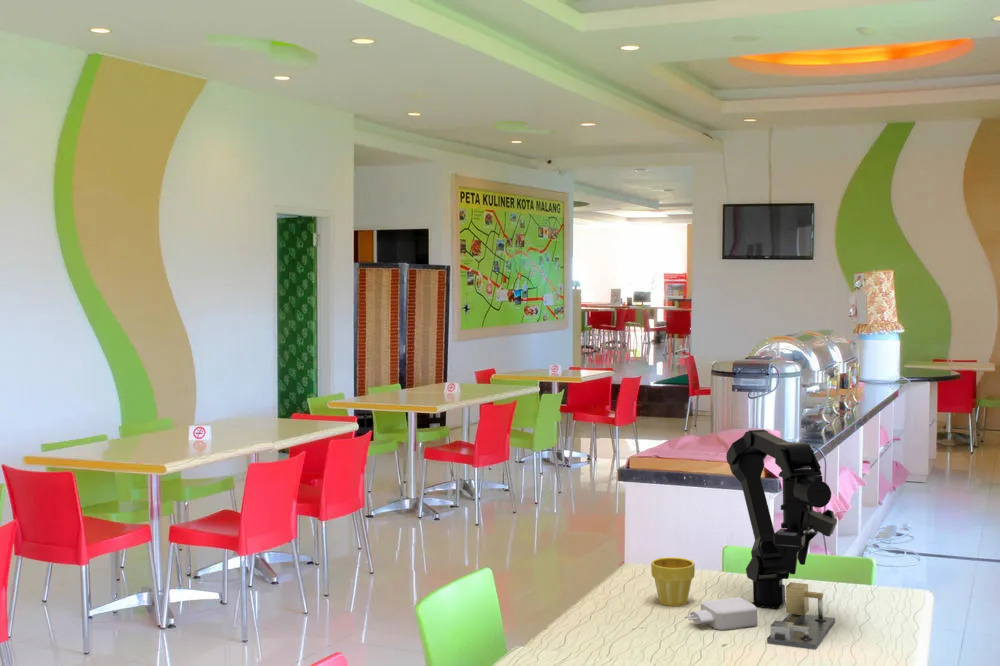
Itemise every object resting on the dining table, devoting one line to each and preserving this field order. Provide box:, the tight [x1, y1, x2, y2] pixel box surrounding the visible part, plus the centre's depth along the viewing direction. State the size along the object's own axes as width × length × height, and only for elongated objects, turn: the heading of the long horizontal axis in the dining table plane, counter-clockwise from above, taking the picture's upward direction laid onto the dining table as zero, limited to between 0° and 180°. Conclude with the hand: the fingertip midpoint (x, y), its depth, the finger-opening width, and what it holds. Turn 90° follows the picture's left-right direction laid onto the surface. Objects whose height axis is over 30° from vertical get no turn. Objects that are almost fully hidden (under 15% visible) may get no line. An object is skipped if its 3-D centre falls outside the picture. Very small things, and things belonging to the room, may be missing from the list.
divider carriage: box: [785, 582, 824, 620], centre depth 236 cm, size 8×4×7 cm, turn 61°
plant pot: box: [650, 556, 696, 607], centre depth 255 cm, size 10×10×10 cm
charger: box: [684, 596, 758, 631], centre depth 237 cm, size 5×9×15 cm
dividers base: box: [766, 613, 836, 650], centre depth 229 cm, size 10×20×4 cm, turn 151°
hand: (797, 569), depth 237 cm, fingers open, 9 cm apart
